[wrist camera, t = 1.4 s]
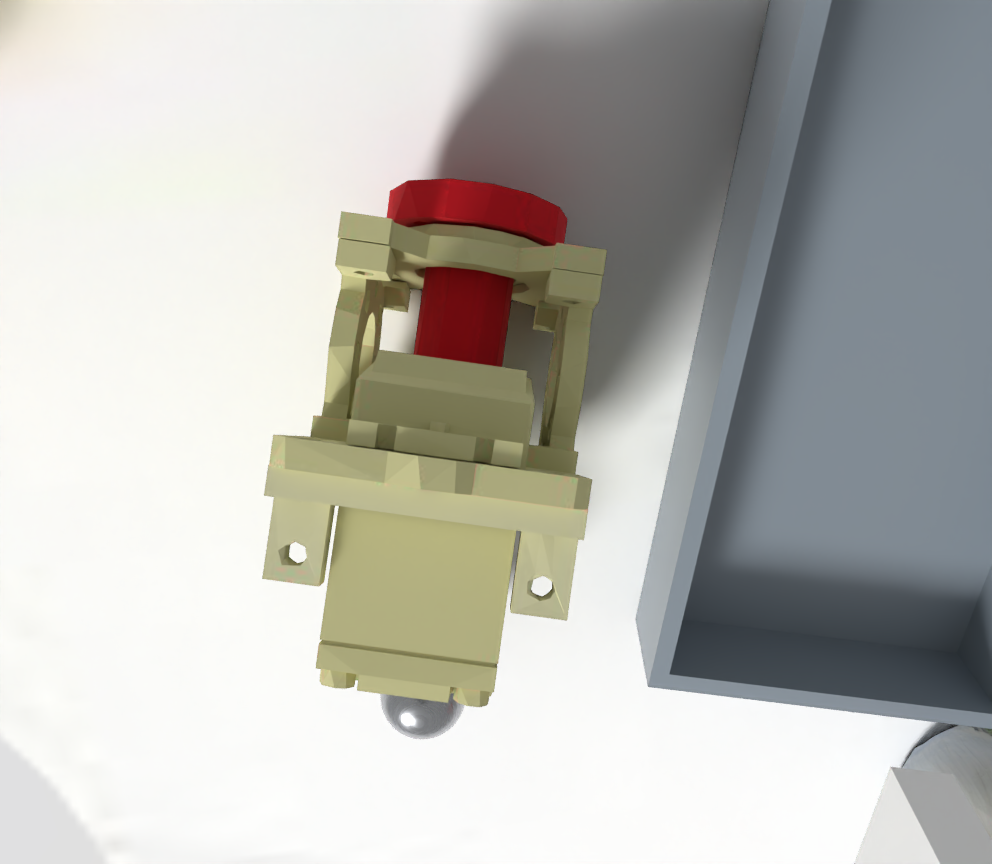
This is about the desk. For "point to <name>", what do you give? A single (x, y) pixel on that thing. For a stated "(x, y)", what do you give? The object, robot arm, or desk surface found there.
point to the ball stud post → (420, 715)
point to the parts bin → (842, 382)
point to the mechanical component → (439, 442)
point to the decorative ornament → (961, 764)
